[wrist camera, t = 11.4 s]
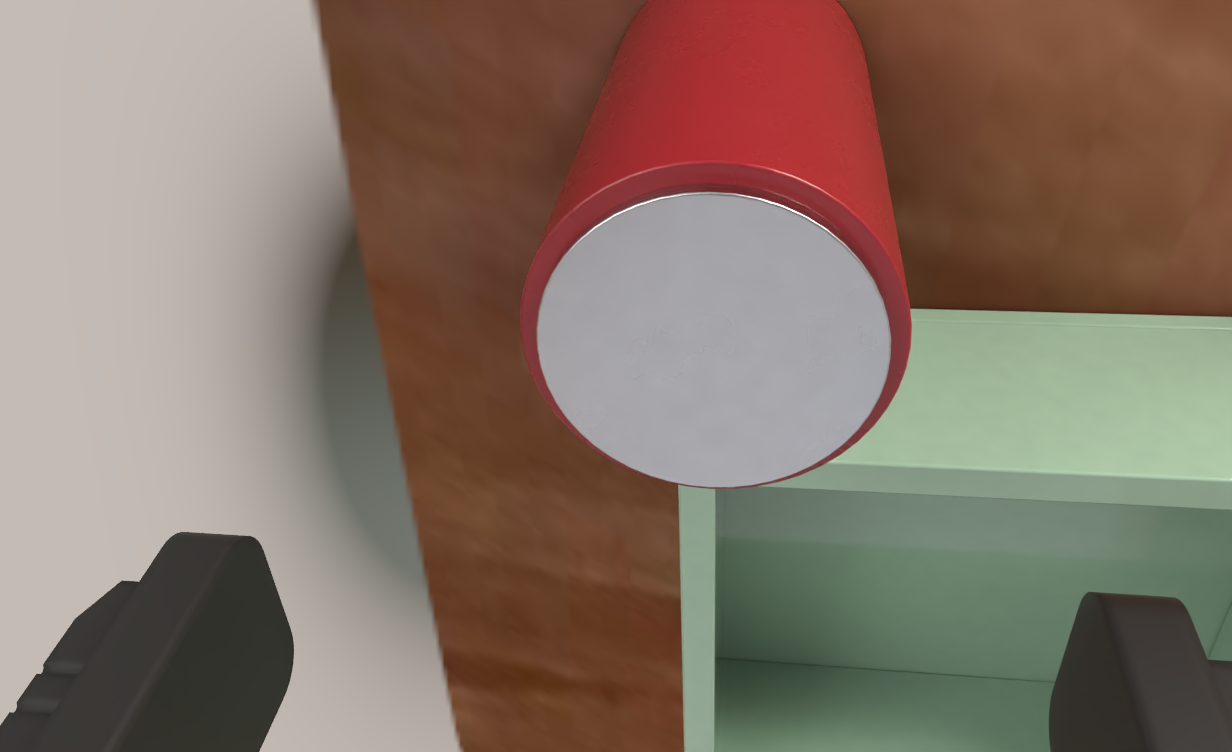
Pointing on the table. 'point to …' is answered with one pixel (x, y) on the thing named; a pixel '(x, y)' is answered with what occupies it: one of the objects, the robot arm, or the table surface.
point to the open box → (964, 538)
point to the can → (724, 251)
